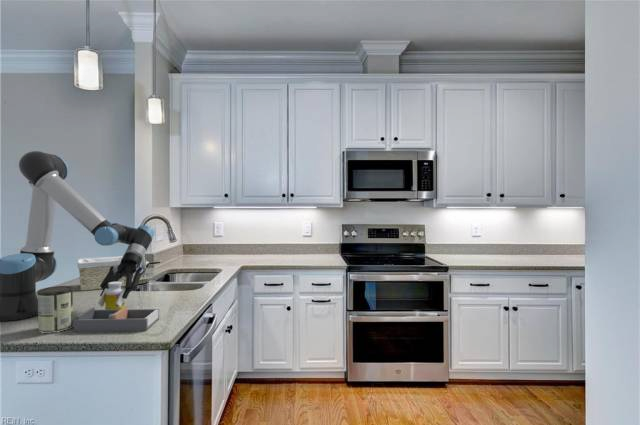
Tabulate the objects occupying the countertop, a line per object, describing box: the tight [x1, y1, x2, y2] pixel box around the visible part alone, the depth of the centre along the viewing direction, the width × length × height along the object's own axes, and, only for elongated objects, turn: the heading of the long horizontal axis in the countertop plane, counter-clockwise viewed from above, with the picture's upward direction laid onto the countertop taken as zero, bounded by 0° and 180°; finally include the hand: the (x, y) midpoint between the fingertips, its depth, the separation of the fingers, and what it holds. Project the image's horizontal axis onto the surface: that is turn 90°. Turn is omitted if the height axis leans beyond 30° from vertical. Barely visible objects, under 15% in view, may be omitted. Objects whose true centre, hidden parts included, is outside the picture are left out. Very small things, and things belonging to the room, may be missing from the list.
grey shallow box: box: [73, 307, 160, 333], centre depth 141 cm, size 24×13×5 cm, turn 94°
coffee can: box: [36, 285, 74, 334], centre depth 136 cm, size 10×10×14 cm
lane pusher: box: [109, 306, 129, 319], centre depth 140 cm, size 4×10×4 cm, turn 4°
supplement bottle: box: [104, 282, 125, 310], centre depth 153 cm, size 7×7×13 cm
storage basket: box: [76, 255, 127, 292], centre depth 204 cm, size 24×16×15 cm
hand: (109, 304), depth 149 cm, fingers closed on supplement bottle, 7 cm apart
